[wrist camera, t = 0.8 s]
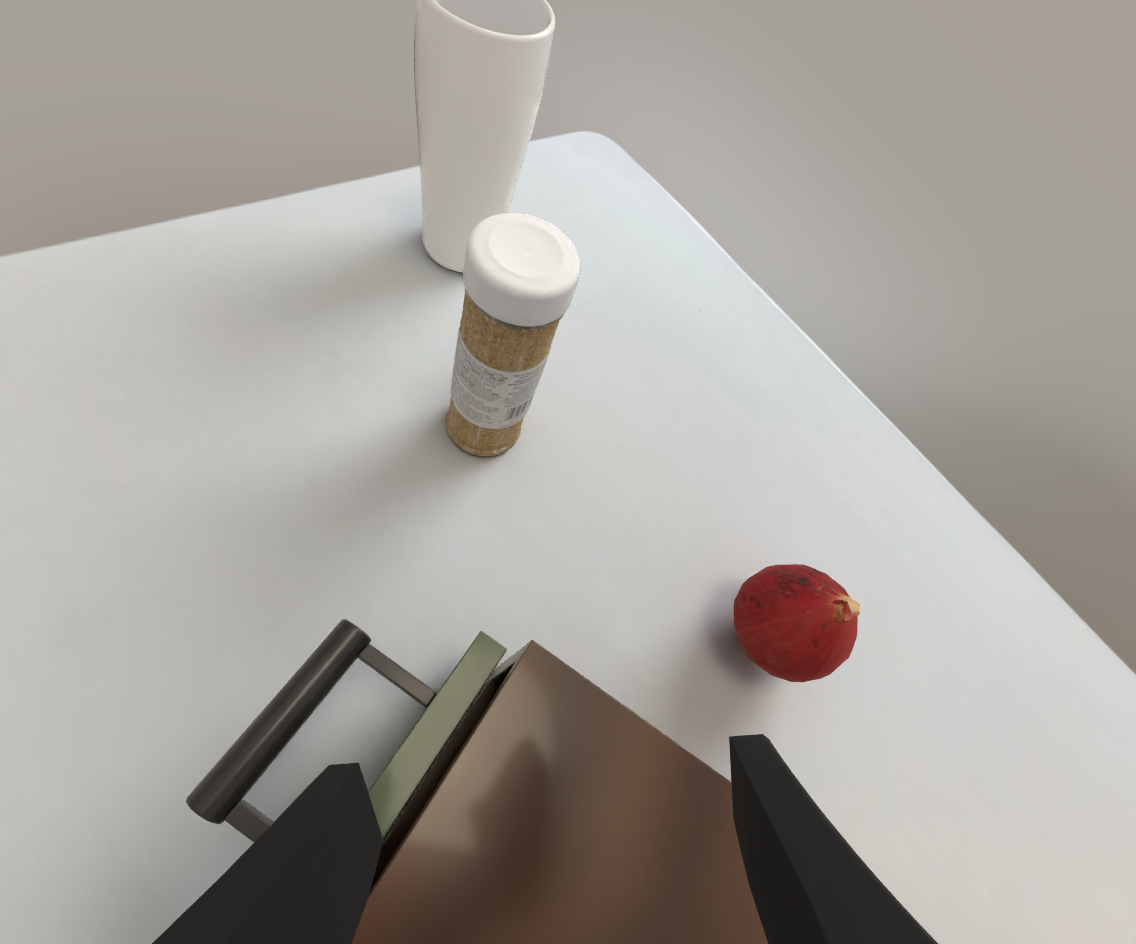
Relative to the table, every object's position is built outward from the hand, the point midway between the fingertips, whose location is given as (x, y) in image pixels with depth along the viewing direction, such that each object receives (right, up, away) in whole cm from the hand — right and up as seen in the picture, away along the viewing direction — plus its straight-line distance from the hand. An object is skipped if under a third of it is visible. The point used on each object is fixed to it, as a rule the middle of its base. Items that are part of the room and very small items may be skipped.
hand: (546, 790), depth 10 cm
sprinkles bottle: (-5, +9, +22) cm, 24 cm away
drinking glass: (-7, +22, +28) cm, 36 cm away
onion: (+11, -3, +21) cm, 24 cm away
